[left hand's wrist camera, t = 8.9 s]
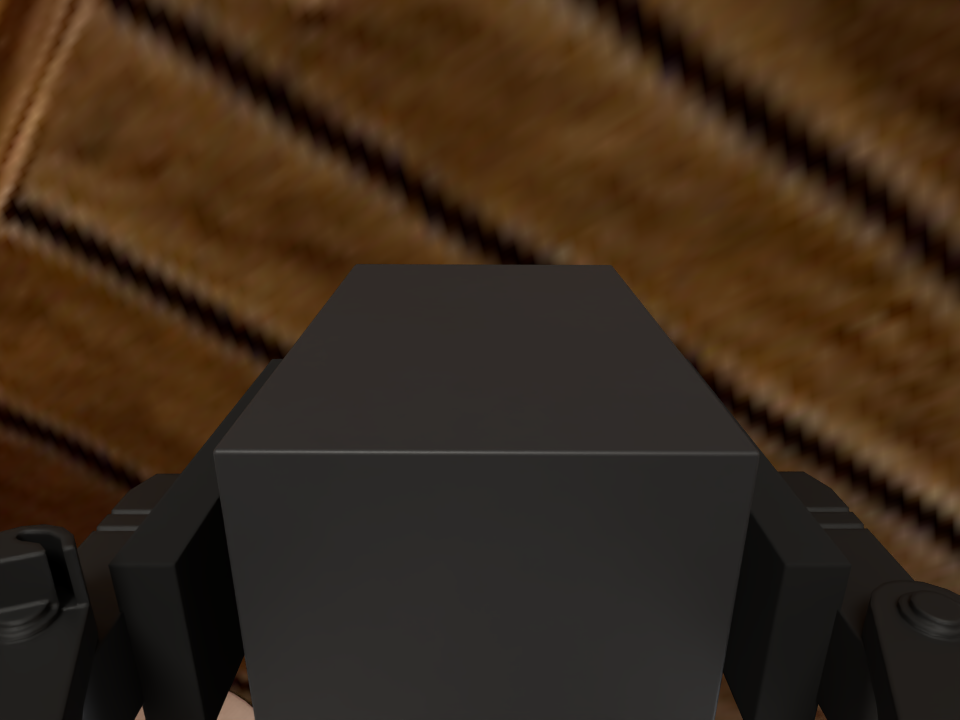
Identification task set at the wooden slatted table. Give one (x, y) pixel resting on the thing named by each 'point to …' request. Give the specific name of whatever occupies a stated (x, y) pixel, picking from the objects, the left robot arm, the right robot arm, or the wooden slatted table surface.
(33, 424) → the wooden slatted table surface
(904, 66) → the wooden slatted table surface
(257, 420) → the bar
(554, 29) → the wooden slatted table surface
